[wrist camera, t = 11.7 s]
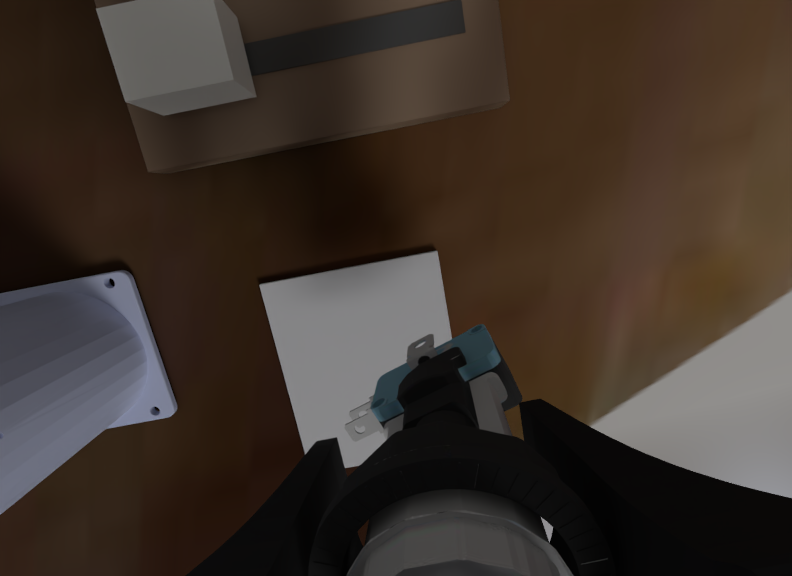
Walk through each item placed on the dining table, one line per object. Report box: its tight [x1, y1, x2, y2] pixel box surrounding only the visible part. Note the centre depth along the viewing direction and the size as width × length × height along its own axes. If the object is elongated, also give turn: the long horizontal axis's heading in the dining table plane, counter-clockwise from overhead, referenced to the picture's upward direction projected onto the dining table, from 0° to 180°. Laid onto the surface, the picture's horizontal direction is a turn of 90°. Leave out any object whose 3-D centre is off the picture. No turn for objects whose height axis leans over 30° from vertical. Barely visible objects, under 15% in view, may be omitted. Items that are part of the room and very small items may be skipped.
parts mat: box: [259, 250, 452, 468], centre depth 21 cm, size 9×11×1 cm
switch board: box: [94, 0, 510, 174], centre depth 17 cm, size 16×7×2 cm, turn 101°
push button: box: [308, 324, 616, 576], centre depth 11 cm, size 7×5×10 cm
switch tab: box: [96, 0, 257, 116], centre depth 15 cm, size 4×3×2 cm
